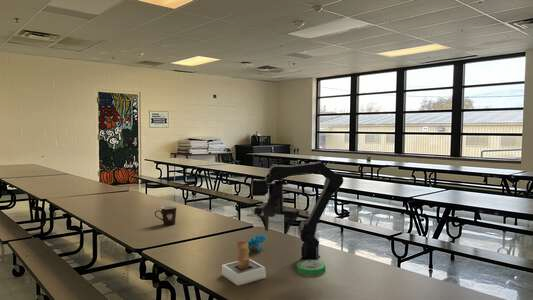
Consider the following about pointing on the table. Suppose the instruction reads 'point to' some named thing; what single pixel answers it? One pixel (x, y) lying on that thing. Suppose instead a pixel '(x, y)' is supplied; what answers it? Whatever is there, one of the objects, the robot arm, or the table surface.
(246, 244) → the peg
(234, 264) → the bore box
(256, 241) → the blue figurine
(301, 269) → the tape roll
